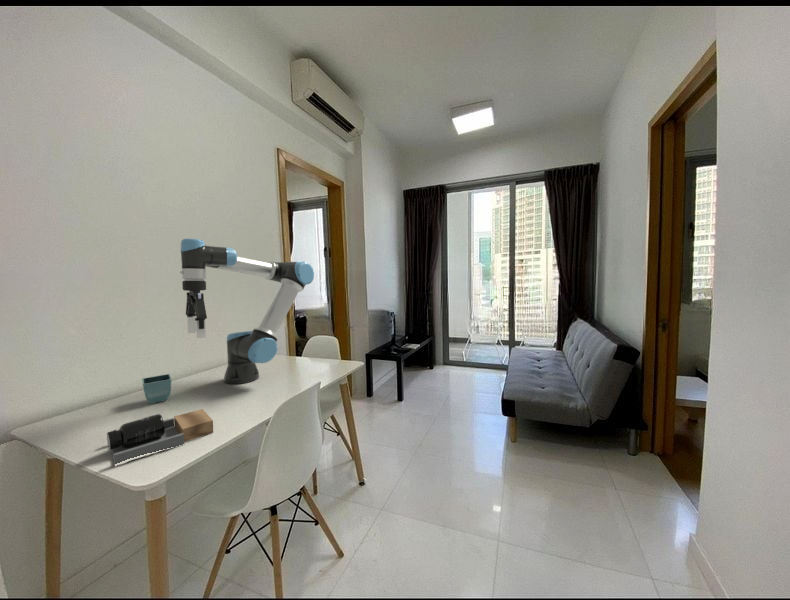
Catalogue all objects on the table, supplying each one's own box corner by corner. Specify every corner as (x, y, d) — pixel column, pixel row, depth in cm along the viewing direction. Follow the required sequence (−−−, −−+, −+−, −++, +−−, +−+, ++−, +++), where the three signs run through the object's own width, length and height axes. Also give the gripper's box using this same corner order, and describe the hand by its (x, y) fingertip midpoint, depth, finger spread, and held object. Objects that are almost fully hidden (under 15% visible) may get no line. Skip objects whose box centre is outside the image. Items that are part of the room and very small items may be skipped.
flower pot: (144, 407, 114) (142, 384, 114) (143, 400, 121) (142, 378, 120) (172, 401, 120) (171, 379, 119) (170, 394, 127) (169, 373, 126)
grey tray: (173, 426, 99) (173, 417, 99) (184, 444, 89) (183, 434, 88) (111, 444, 88) (110, 434, 88) (114, 466, 78) (113, 455, 78)
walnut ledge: (202, 420, 104) (202, 408, 104) (213, 432, 95) (212, 420, 95) (174, 428, 98) (174, 416, 98) (182, 442, 90) (182, 429, 89)
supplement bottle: (160, 408, 92) (106, 423, 83) (166, 427, 89) (111, 444, 80) (156, 422, 95) (104, 438, 86) (163, 440, 92) (109, 459, 83)
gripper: (175, 280, 121) (177, 332, 123) (190, 280, 104) (193, 341, 105) (197, 280, 127) (199, 330, 128) (215, 280, 109) (217, 338, 111)
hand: (196, 335), depth 117 cm, fingers open, 13 cm apart
